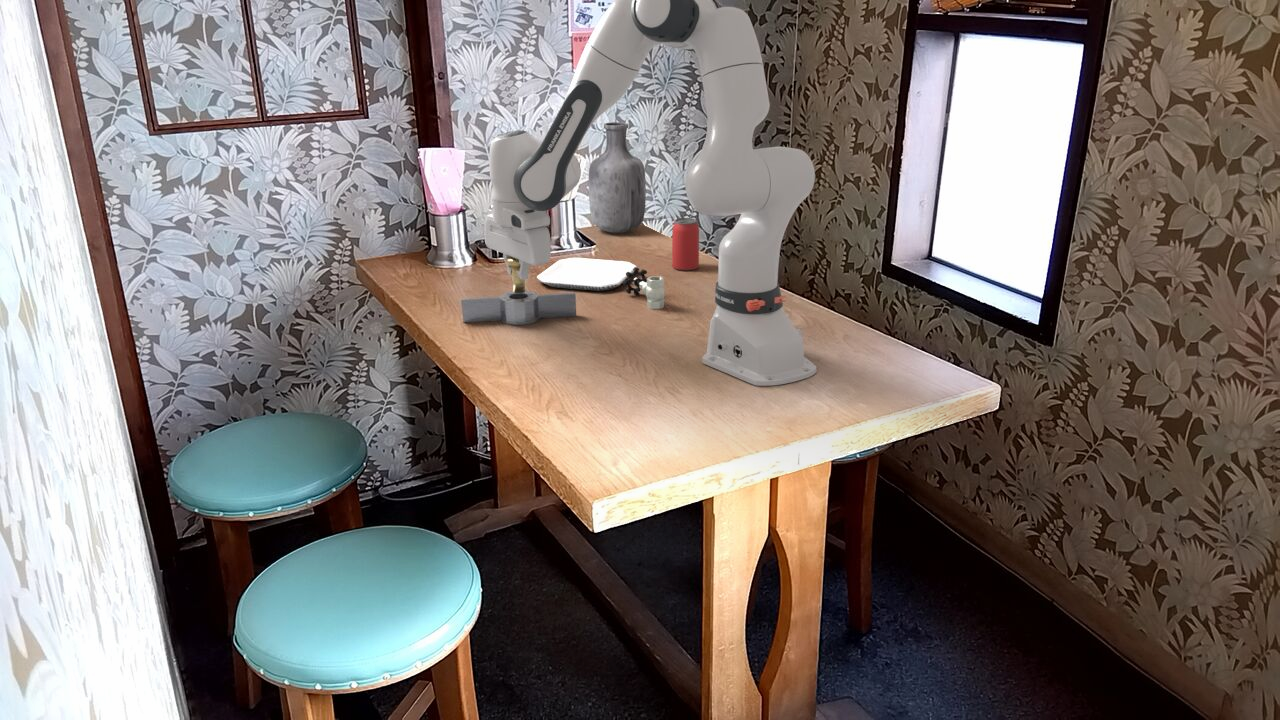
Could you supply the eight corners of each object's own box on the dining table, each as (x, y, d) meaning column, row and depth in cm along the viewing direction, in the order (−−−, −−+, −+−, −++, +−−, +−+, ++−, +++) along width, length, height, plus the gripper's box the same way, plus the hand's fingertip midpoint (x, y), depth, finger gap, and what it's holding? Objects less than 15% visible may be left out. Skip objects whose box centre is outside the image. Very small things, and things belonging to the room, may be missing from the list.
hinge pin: (516, 295, 198) (513, 262, 196) (504, 290, 202) (502, 258, 199) (533, 291, 201) (531, 258, 198) (522, 286, 204) (520, 254, 201)
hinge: (574, 309, 209) (573, 287, 207) (577, 321, 201) (576, 299, 199) (463, 315, 205) (461, 293, 204) (462, 328, 198) (460, 305, 196)
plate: (531, 288, 224) (531, 279, 223) (563, 264, 242) (563, 256, 241) (614, 296, 218) (614, 287, 217) (641, 271, 236) (641, 262, 235)
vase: (656, 233, 269) (656, 125, 258) (606, 241, 262) (604, 130, 250) (628, 221, 282) (627, 118, 271) (580, 228, 275) (576, 122, 263)
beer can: (668, 265, 239) (668, 218, 235) (693, 263, 241) (693, 216, 237) (677, 272, 234) (677, 224, 229) (702, 270, 235) (703, 222, 231)
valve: (673, 307, 210) (648, 292, 220) (673, 278, 207) (648, 265, 217) (646, 312, 207) (622, 296, 217) (646, 283, 204) (622, 268, 214)
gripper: (474, 205, 200) (479, 268, 206) (528, 223, 186) (531, 290, 191) (500, 200, 204) (504, 263, 209) (554, 218, 189) (557, 284, 195)
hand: (518, 276), depth 200 cm, fingers closed on hinge pin, 3 cm apart
